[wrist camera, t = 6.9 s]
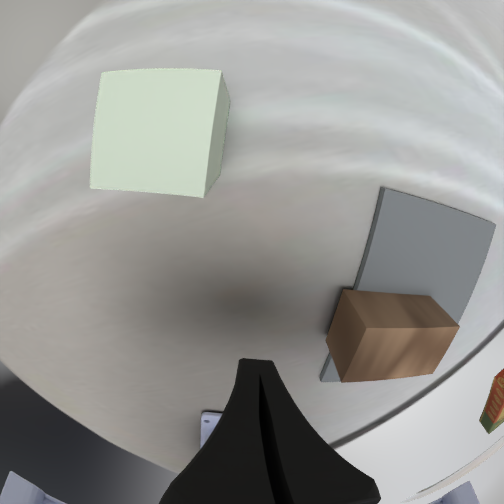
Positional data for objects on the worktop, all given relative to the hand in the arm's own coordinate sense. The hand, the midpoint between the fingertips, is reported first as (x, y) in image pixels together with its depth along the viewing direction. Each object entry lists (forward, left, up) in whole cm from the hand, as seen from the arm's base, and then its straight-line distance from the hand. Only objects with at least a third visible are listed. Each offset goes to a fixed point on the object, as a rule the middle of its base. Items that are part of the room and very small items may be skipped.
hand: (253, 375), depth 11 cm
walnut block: (0, -5, -3) cm, 6 cm away
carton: (-14, -42, -6) cm, 45 cm away
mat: (+1, -12, -6) cm, 13 cm away
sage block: (+9, +4, -6) cm, 12 cm away
